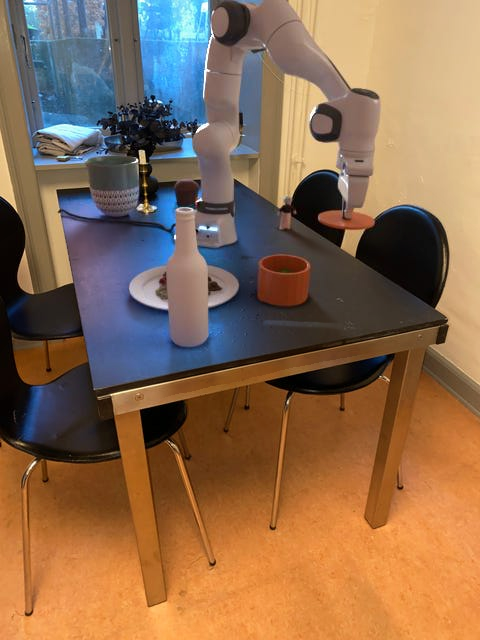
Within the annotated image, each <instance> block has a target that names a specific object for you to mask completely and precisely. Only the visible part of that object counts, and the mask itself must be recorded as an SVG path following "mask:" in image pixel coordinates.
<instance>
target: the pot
mask: <svg viewBox="0 0 480 640" xmlns="http://www.w3.org/2000/svg"><path fill="white" fill-rule="evenodd" d="M283 270H284V271H290V272H291V273H279V272H281V271H283ZM310 276H311V263H310V262H309V261H308V259H305V258H304V257H300V256H297V255H292V254H271V255H267V256H264V257H262V258H261V259H259V261H258V273H257V293H256V295H257V299H258V300H259V301H260V302H264V303H267V304H270V305H274V306H279V307H292V306H298V305H301V304H302V303H304V302H306V301H307V299H308V296H309V288H310V278H311V277H310Z"/></svg>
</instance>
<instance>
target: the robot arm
mask: <svg viewBox="0 0 480 640" xmlns="http://www.w3.org/2000/svg"><path fill="white" fill-rule="evenodd" d="M210 29H211V30H210V31H211V34H212V35H211V37H210V40H209V44H208V48H207V54H206V60H205V68H204V69H205V70H204V82H203V95H202V97H203V98H202V99H203V102H204V106H205V114H206V123H205V124H203V125H201V126H200V127H199V128H198V129H197V130H196V132H195V133H194V135H193V137H192V140H191V141H192V143H191V145H192V150H193V152H194V154H195V155H196V159H197V163H198V169H199V174H200V196H198V197H197V198H196V204H195V209H194V210H195V213H194V215H195V219H194V221H195V230H196V240H197V247H203V248H212V249H217V248H220V247H222V246H228V245H232V244H234V243H236V242H237V241H238V236H237V231H236V225H235V214H236V203H235V202H236V200H235V198H234V197H235V195H234V189H235V187H234V186H235V185H234V183H235V176H234V173H233V171H232V166H231V157H230V156H231V153H233V152H234V150H236V148H237V147H238V144H239V142H240V139H241V133H240V109H239V108H240V105H239V103H240V94H241V84H242V83H241V82H242V74H243V62H244V58H245V56H246V55H247V53H248V52H251V53H252V54H257V53H260V52H264V51H266V52H267V54H268V57H269V58H270V60H271V62H272V63H273V64H274V65H275V67H276V68H277V69H278V70H279V71H280V72H281V73H283V74H284V75H287V76H291V77H294V78H299V79H301V80H305V81H307V82H309V83H311V84H313V85H315V86H316V87H317V88H318V89H319V90H320V91H321V92H322V94H323V95H324V96H325V98H326V100H327V101H325V102H322V103H319V104H317V105H315V106H314V108H313V109H312V111H311V113H310V115H309V118H308V119H309V120H308V126H309V132H310V135H311V136H312V138H313V139H314V140H315V141H316V142H319V143H322V144H323V143H324V144H330V143H338V149H337V156H336V162H335V168H337V169H338V170H339V175H338V182H337V189H338V191H339V193H340V194H341V196H342V204H343V203H344V201H345V202H346V210H345V214H344V216H345V218H352V213H353V212H354V210H355V209H361V208H363V207H364V205H365V201H366V197H367V193H368V189H369V184H370V177H372V176H373V175H374V169H375V168H374V157H375V156H374V155H375V150H376V145H375V140H376V137H377V134H378V132H379V126H380V121H381V109H382V107H381V106H382V105H381V97H380V95H379V94H378V93H377V92H376V91H373V90H370V89H367V88H361V87H353V88H352V87H351V86H350V85H349V83H348V82H347V80H346V79H345V78H344V76H343V75H342V74H341V72H340V71H339V69H338V68H337V66H336V65H335V64H334V62H333V61H332V60H331V59H330V58H329V56H328V55H327V54H326V53H325V52H324V51H323V49H321V47H320V46H319V45H318V44H317V42H316V41H315V39H314V38H313V36H311V34H310V32H309V31H308V29H307V28H306V26H305V24H304V22H303V21H302V19H301V17H300V16H299V15H298V13H297V12H296V10H295V9H294V8H293V6H292V5H291V4H290V2H288V1H287V0H262V1H261V2H260V4H258V3H256V2H249V1H248V2H247V1H246V2H245V1H237V0H224V1H220V2H219V3H217V5H216V6H215V7H214V8H213V11H212V14H211V18H210ZM342 210H343V206H342V209H341V211H342ZM60 213H64V214H66V215H67V216H70V217H73V218H77V219H80V220H85V221H92V222H103V223H119V224H120V223H123V224H139V225H153V226H158V227H160V228H162V230H164V231H167V232H172V231H173V230H174V228H175V227H176V222H175V223H172V224H171V226H170V228H167V227H166V226H165V225H164V224H162V223H160V222H154V221H145V220H144V221H143V220H129V219H128V220H126V219H107V218H106V219H105V218H96V217H95V218H94V217H87V216H82V215H77V214H74V213H71V212H69V211H67V210H66V209H64V208H61V209H59V210H58V211H57V214H60ZM173 241H174V242H175V235H174V236H173Z"/></svg>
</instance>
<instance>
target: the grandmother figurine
mask: <svg viewBox="0 0 480 640" xmlns="http://www.w3.org/2000/svg"><path fill="white" fill-rule="evenodd" d="M283 202H284V204H282V205H281V206H280V208H279V209H278V211H277V213H276V216H278V217H279V216H280V214H281V217H280V224H279V225H280V226H279V230H281V231H283V230H291V226H290V225H291V216H292V213H293V215H296V214H297V211H296V208H295V206H294V205H292V202H293V198H292V196H290V195H288V194H287V195H285V196H284V197H283Z"/></svg>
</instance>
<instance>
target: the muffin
mask: <svg viewBox="0 0 480 640" xmlns="http://www.w3.org/2000/svg"><path fill="white" fill-rule="evenodd" d="M172 189H173V190H174V195H175V200H176V203H177V204H178V205H181V206H194V205H195V206H196V198H197V197H199V191H200V190H201V186H199V184H198V183H197V181H195V180H193V179H191V178H183V179H179V180H178V181H176V183H175V184H174V185H173V187H172Z"/></svg>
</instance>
